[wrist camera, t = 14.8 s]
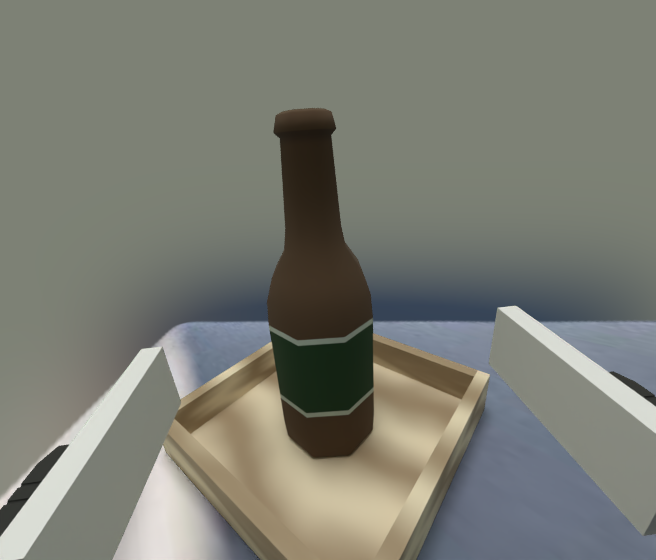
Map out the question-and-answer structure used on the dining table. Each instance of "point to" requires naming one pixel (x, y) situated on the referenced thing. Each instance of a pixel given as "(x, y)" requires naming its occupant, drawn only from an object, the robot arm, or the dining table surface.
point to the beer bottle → (319, 300)
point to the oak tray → (330, 458)
